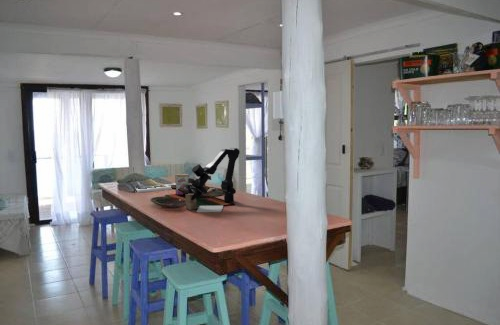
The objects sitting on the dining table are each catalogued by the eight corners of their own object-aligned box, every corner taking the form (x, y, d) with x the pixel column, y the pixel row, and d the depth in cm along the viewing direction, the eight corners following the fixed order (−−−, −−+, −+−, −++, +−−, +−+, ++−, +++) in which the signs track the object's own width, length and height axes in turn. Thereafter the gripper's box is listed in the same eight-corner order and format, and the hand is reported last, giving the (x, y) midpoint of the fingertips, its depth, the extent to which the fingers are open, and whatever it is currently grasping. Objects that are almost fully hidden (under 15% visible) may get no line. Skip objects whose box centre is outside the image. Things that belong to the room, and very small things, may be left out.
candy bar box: (175, 194, 315) (174, 174, 313) (177, 193, 320) (176, 173, 318) (189, 194, 314) (188, 174, 312) (190, 193, 319) (190, 173, 317)
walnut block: (192, 207, 265) (191, 193, 263) (196, 208, 261) (195, 194, 260) (185, 208, 261) (185, 194, 260) (190, 210, 258) (189, 195, 256)
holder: (138, 193, 327) (137, 190, 327) (132, 190, 343) (132, 187, 342) (188, 188, 351) (188, 185, 350) (180, 185, 366) (180, 182, 366)
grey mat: (223, 206, 268) (223, 205, 267) (221, 211, 252) (221, 210, 252) (200, 206, 268) (200, 205, 268) (196, 212, 252) (196, 211, 252)
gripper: (186, 172, 268) (173, 190, 262) (203, 174, 255) (189, 193, 248) (196, 182, 274) (183, 200, 268) (213, 185, 261) (200, 204, 254)
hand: (189, 199), depth 259 cm, fingers closed on walnut block, 5 cm apart
